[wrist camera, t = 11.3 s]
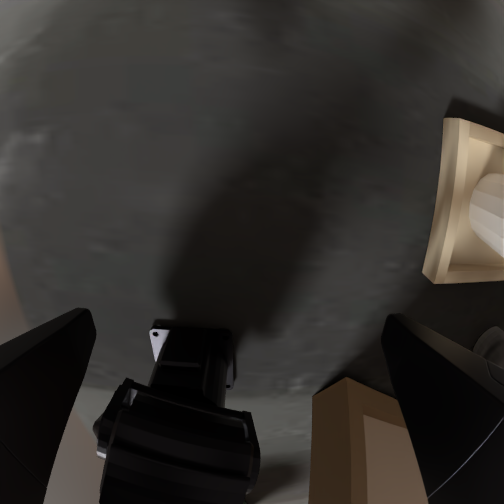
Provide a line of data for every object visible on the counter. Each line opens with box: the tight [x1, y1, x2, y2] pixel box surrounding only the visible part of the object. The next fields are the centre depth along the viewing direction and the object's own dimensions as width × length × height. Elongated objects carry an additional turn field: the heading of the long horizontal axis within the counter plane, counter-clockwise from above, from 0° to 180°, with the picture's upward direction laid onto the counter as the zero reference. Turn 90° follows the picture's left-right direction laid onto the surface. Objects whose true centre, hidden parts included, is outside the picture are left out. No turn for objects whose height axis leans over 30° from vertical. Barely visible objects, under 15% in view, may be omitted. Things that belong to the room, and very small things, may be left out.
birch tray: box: [422, 118, 504, 284], centre depth 18 cm, size 12×12×2 cm
